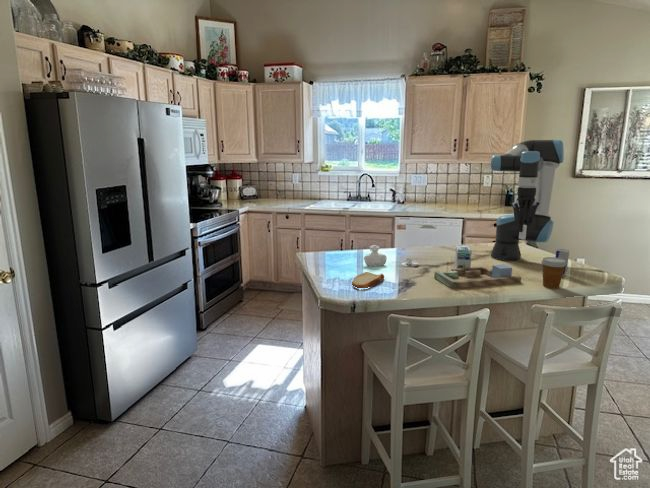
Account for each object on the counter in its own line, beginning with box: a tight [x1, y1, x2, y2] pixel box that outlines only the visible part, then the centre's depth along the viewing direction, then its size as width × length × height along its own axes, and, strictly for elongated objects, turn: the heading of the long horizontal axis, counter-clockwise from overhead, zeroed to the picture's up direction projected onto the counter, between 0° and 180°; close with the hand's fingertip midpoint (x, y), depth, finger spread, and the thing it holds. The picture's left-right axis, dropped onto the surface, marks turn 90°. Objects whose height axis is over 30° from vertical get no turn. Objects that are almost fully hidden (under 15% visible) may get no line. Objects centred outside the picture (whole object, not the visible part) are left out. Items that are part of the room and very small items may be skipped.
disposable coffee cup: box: [541, 256, 566, 290], centre depth 188 cm, size 10×10×12 cm
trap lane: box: [433, 266, 522, 289], centre depth 199 cm, size 34×19×3 cm, turn 104°
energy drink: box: [555, 248, 570, 278], centre depth 204 cm, size 5×5×12 cm
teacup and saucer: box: [401, 256, 419, 267], centre depth 224 cm, size 9×8×4 cm
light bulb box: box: [454, 244, 473, 269], centre depth 216 cm, size 11×7×11 cm, turn 168°
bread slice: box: [351, 271, 385, 288], centre depth 195 cm, size 18×18×4 cm
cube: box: [491, 263, 513, 278], centre depth 199 cm, size 6×6×6 cm
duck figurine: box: [363, 244, 388, 267], centre depth 223 cm, size 12×8×11 cm
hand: (522, 238), depth 198 cm, fingers closed
